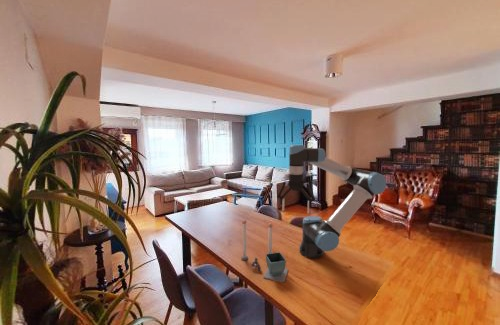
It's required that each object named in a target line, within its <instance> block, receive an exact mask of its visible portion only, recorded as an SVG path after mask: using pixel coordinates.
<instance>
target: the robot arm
mask: <svg viewBox="0 0 500 325" xmlns="http://www.w3.org/2000/svg"><path fill="white" fill-rule="evenodd" d="M326 155H327V154H326V150H325V149H324V148H321V147H320V148H318V147H317V148H316V147H314V148H312V147H305V145H303V144H292V145H289V153H288V157H289V160H288V161H289V164H288V172H289V174H288V175H289V176H288V181H286V180H285V181H283V182H282V186H281V189H280V190H279V193H278V194H277V197H276V198H277V199H279V201H280V206H282V207H281V211H282V212H284V211H285V203H286V202H285V197H286V196H287V195H288V193H289V192H290V191H291V190H292V191H296V192H299V191H300V192H301V193H302V194H303V196H304V197H305V198H306V199H307V215H308V214H310V208H312V205H313V204H312V202H315V201H316V198H315V195H314V193H313V191H312V189H311V187H310V182H304V164H305V163H309V164H310V165H312V166H315V167H317V168H319V169H322V171H323V170H324V171H326V172H328V173H330V174H332V175H335V176H337V177H339V178H340V179H341V180H342V181H344V182H345V183H347V184H350V185H352V186H353V190H352V191H351V192H350V193H349V194H348V195H347V197H346V198H344V200H343V201H342V202H341V204H340V205H338V207H337V208H336V209H335V211H334V212H333V213H332V214H330V217H329V218H327V219H324V220H323V219H322V217H320V216H313V215H312V216H310V215H309V216H305V217H303V219H302V239H301V243H300V244H299V253H300V255H302V256H303V257H305V258H309V259H321V258H323V257H324V255H325V252H331V251H334V250H335V249H337V247H338V246H339V244H340V238H339V237H340V236H341V231H342V229H343V228H344V227H345V225H347V223H348V222H349V221H350V220H351V218H353V216H354V215H355V214H356V213H357V211H359V209H360V208H361V207H362V206H363V204H364V203H365V202H366V201H367V200H369V199H372V198H373V197H374V196H375V195H380V194H382V193H384V191H385V190H386V188H387V180H386V178H385V176H384V175H383V174H381V173H379V172H377V171H376V172H375V171H369V170H364V169H359V168H354V167H352V166H350V165H343V164H341V163H340V162H337V161H335V160H333V159H331V158H329V157H327V156H326ZM286 186H288V187H289V188H288V189H287V190H286V191H285V192H284V190H285V188H286ZM303 187H305V188H306V189H307V191H305V189H304V188H303ZM283 192H284V193H283ZM307 192H308V193H307ZM282 193H283V194H282Z"/></svg>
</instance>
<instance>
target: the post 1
mask: <svg viewBox="0 0 500 325" xmlns="http://www.w3.org/2000/svg"><path fill="white" fill-rule="evenodd" d="M241 222H242V256H241V257H240V258H241V261H247V260H249V257H248V256H247V220H246V219H243V220H242V221H241Z"/></svg>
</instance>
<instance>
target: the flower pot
mask: <svg viewBox="0 0 500 325" xmlns="http://www.w3.org/2000/svg"><path fill="white" fill-rule="evenodd" d="M265 262H266V266H267V268H268V269H269V271H270V272H271V274H272V276H276V275H281V274H282V273H283V272H284V270H285V269H286V264H287V260H286V258H285V257H284V255H283V254H282V252H280V251H279V252H272V253H271V254H268V253H265Z"/></svg>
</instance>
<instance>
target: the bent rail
mask: <svg viewBox="0 0 500 325" xmlns="http://www.w3.org/2000/svg"><path fill="white" fill-rule="evenodd" d="M258 260H259V259H258V257H255V258H254V259H253V261H252V263H250V267H251V268H257V271H258V272H261V269H262V268H261V266H260V264H258V262H259V261H258Z"/></svg>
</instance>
